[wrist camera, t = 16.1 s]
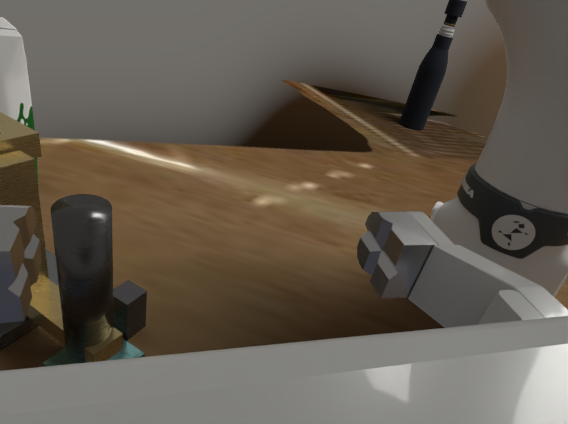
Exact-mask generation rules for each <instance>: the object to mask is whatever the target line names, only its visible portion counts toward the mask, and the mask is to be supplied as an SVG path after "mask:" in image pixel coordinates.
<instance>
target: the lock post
mask: <svg viewBox="0 0 568 424" xmlns="http://www.w3.org/2000/svg"><path fill="white" fill-rule="evenodd" d="M45 250H46V249H45ZM46 259H47V267H48V275H49V280H51V281H52V282H53V283H55V284H56V285H57V286H59V284H58V274H57V265H56V255H54V254H53V253H51V252H50V251H48V250H46ZM146 296H147V291H145V290H144V289H142V288H141V287H139V286H137V285H136V284H134V283H132V282H131V281H129V280H128V281H126V282H125V283H123V284H122V285H120V286H119V287H117V288H116V289H114V290H113V319H114V328H116V329H117V330H118V331H120V332H121V333H123V338H124V339H126V340H128V339H129V338H131V337H132V336H133V335H134V334H136V333H137V332H138V331H140V330H141V329H142V328H143V327H145V321H146ZM37 326H39V325H38V324H37V323H36V322H34V321H33V320H32V319H31V318H29V317H28V316H27V315H26V318H25V321H21V322H9V323H0V349H1V348H3V347H5V346H6V345H8V344H10V343H11V342H13V341H14V340H16V339H18V338H19V337H21V336H22V335H24V334H26V333H27V332H29V331H31V330H32V329H34V328H35V327H37ZM124 339H123V349H121V350H120V351H119V352H118V353H116V354H115V355H114V356H112V357H111V358H110V359H108V360H118V359H129V358H139V357H144V354H145V353H143V352H142V351H140V350H139V349H137V348H136V347H134V346H133V345H131V344H130V343H129V342H127V341H126V340H124ZM108 360H107V361H108ZM66 364H77V363H74V362H72V361H71V360H70V359H69V358H68V357H67V355H66V350H65V347H64V348H63V349H62V350H60V351H59V352H57V353H56V354H54V355H53V356H52V357H50V358H49V359H47V360H46V361H44V362H43V366H45V367H46V366H56V365H66Z"/></svg>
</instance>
